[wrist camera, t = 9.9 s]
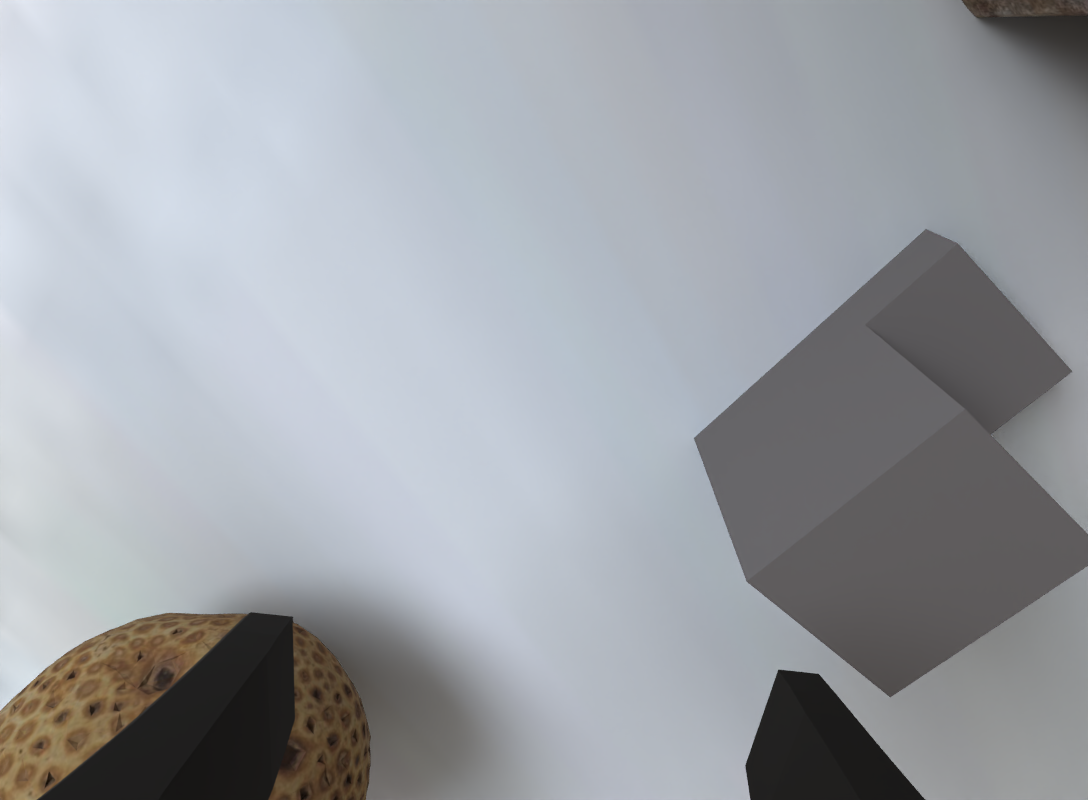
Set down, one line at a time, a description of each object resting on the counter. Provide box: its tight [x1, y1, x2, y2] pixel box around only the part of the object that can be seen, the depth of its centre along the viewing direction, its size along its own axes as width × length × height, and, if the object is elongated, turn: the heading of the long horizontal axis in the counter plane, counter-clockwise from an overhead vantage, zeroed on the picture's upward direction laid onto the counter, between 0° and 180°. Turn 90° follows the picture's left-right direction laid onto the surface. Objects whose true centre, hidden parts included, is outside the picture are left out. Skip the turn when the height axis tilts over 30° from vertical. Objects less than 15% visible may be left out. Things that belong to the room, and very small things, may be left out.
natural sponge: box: [0, 613, 371, 800], centre depth 18 cm, size 9×9×10 cm
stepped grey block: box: [694, 230, 1088, 697], centre depth 16 cm, size 4×8×6 cm, turn 138°
